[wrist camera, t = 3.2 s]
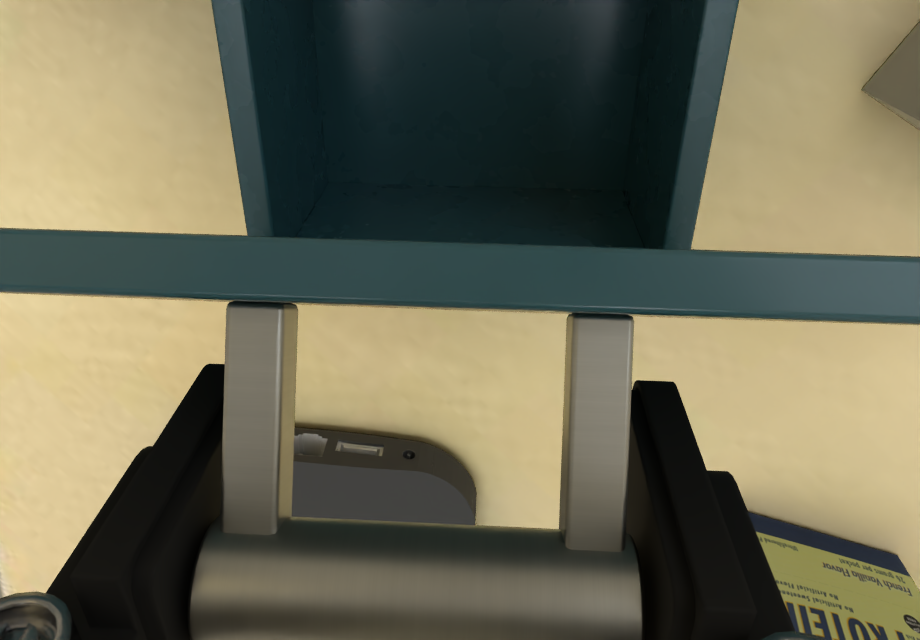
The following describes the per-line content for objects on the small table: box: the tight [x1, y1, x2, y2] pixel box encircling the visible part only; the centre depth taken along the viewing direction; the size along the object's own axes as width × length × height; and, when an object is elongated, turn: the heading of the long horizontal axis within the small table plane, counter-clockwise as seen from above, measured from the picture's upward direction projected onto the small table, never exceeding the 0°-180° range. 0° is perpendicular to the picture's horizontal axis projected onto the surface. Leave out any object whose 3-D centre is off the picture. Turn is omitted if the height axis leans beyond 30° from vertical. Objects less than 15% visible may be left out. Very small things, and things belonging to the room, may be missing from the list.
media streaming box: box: [292, 428, 476, 525], centre depth 36 cm, size 15×15×3 cm
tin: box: [211, 0, 739, 250], centre depth 21 cm, size 14×13×8 cm
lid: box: [0, 228, 920, 640], centre depth 14 cm, size 14×13×5 cm
